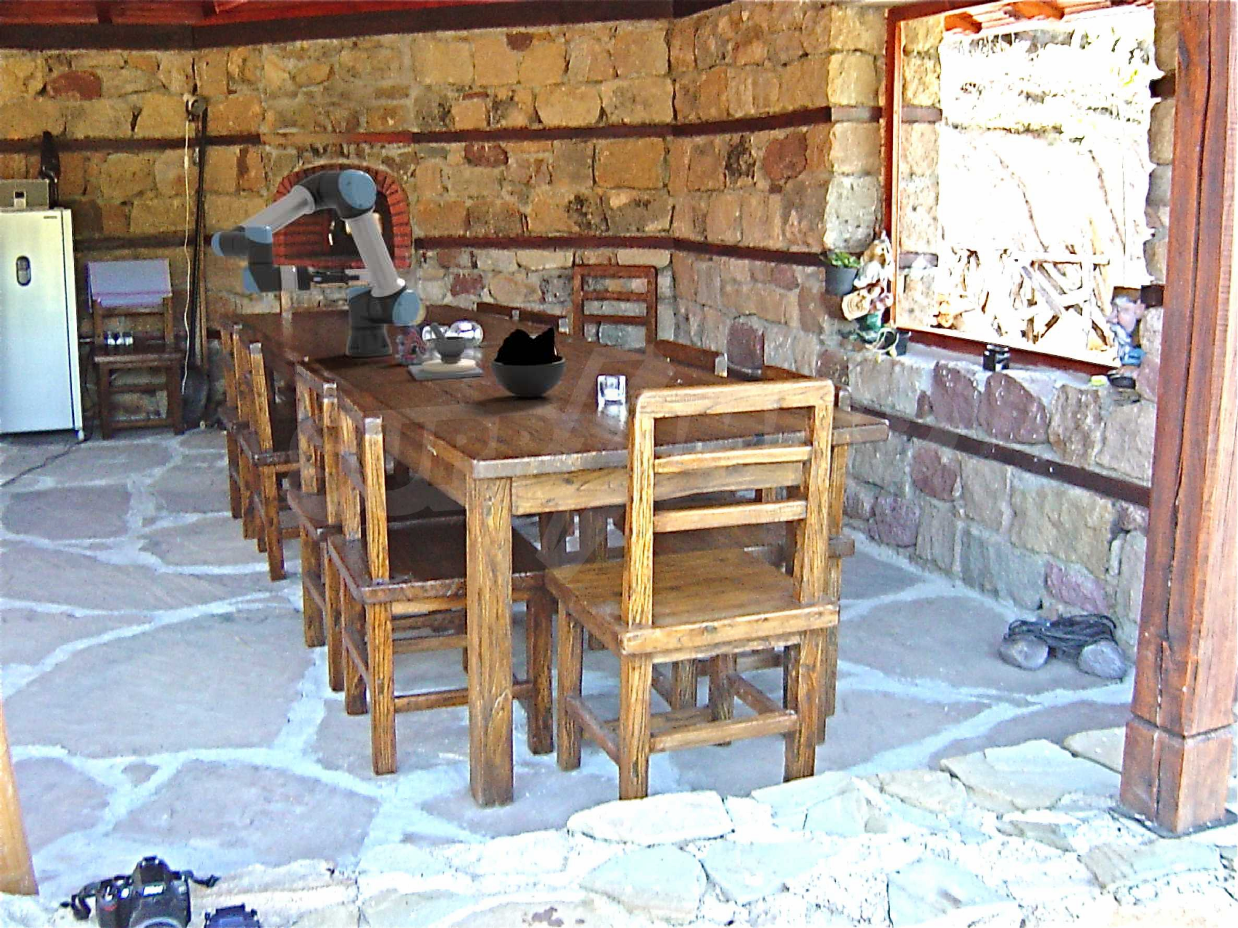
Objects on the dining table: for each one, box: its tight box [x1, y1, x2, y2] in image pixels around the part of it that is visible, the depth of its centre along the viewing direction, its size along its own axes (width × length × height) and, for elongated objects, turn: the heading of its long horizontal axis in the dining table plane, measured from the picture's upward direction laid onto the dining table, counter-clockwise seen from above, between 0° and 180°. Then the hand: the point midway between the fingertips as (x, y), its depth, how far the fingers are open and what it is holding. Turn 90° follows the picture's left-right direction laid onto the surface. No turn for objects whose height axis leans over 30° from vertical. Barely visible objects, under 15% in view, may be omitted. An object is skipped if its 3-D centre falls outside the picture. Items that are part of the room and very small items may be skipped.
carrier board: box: [408, 358, 485, 381], centre depth 401 cm, size 22×20×4 cm
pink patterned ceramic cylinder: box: [393, 329, 431, 366], centre depth 422 cm, size 11×11×12 cm
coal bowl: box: [490, 326, 566, 398], centre depth 355 cm, size 20×20×19 cm
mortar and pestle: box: [428, 322, 467, 362], centre depth 399 cm, size 11×9×12 cm
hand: (369, 275), depth 395 cm, fingers open, 13 cm apart
